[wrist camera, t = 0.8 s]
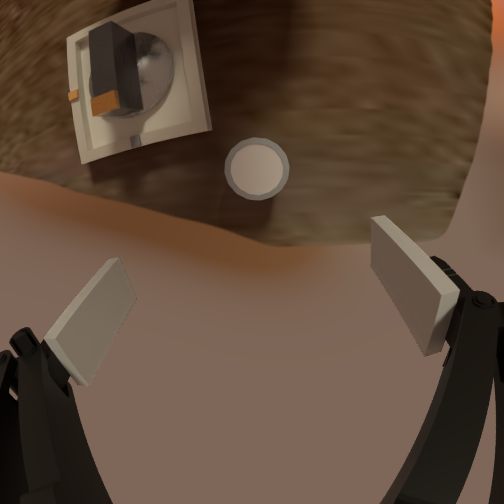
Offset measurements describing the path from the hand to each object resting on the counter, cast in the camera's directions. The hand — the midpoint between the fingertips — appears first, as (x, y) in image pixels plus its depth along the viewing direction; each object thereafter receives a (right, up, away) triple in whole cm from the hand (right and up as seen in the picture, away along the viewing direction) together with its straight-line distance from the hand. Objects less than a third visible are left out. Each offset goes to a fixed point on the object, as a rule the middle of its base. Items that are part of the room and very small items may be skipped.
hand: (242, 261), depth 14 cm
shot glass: (+1, +12, +21) cm, 25 cm away
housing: (-15, +24, +16) cm, 32 cm away
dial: (-15, +23, +14) cm, 31 cm away
